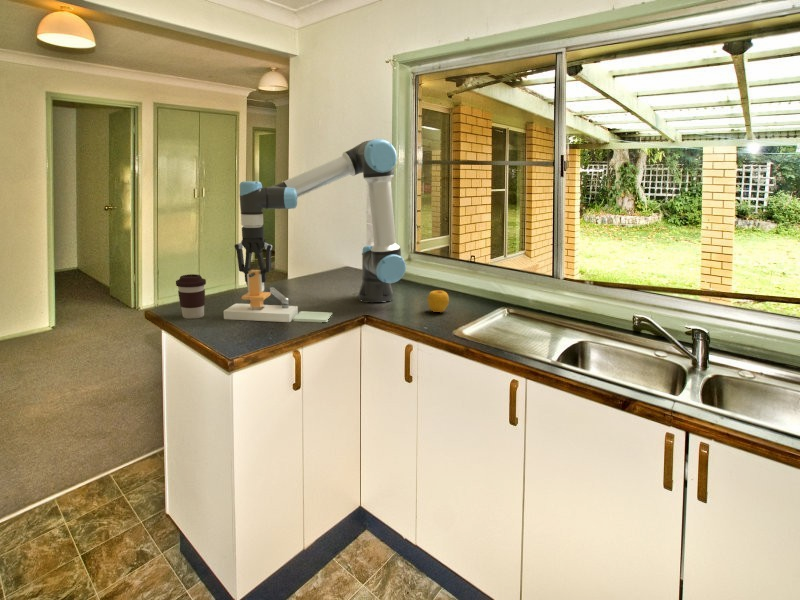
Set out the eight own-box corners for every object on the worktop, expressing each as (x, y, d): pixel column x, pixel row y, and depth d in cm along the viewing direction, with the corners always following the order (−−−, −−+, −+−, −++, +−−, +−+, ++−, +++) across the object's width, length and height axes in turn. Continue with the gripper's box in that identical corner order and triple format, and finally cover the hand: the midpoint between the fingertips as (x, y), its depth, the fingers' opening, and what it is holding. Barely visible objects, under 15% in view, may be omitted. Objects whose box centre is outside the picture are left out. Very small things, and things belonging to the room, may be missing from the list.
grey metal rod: (289, 303, 185) (289, 298, 185) (282, 304, 184) (282, 299, 184) (274, 291, 203) (274, 287, 203) (268, 292, 202) (268, 287, 201)
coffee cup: (184, 312, 187) (180, 273, 183) (211, 312, 188) (208, 273, 184) (174, 320, 177) (171, 278, 174) (203, 320, 178) (200, 278, 174)
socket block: (297, 313, 189) (297, 302, 188) (289, 322, 179) (289, 310, 178) (235, 311, 191) (235, 300, 190) (224, 319, 180) (223, 307, 179)
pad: (332, 315, 189) (332, 312, 189) (326, 322, 179) (326, 320, 179) (300, 313, 190) (300, 311, 189) (293, 321, 180) (293, 318, 180)
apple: (442, 316, 191) (443, 293, 189) (422, 312, 196) (423, 290, 194) (451, 311, 198) (453, 289, 196) (433, 308, 203) (433, 287, 201)
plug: (271, 303, 188) (269, 269, 184) (262, 310, 178) (260, 274, 175) (250, 302, 188) (248, 268, 185) (240, 309, 179) (238, 273, 176)
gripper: (279, 225, 180) (281, 289, 186) (233, 224, 181) (237, 287, 187) (272, 227, 173) (275, 294, 178) (225, 226, 174) (229, 292, 180)
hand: (256, 290), depth 183 cm, fingers closed on plug, 4 cm apart
